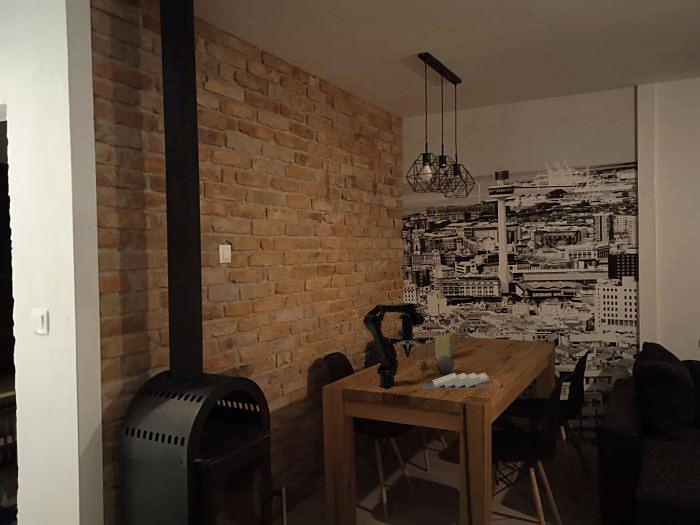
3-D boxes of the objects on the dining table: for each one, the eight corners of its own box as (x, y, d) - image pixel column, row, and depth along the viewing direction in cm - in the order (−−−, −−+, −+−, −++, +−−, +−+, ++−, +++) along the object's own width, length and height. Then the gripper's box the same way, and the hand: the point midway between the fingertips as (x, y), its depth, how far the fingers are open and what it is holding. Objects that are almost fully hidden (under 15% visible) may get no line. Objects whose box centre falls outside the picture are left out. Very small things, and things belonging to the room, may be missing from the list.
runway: (422, 389, 279) (422, 388, 279) (419, 383, 292) (419, 382, 292) (488, 389, 279) (488, 388, 279) (482, 383, 292) (482, 382, 292)
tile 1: (434, 384, 281) (457, 376, 281) (432, 380, 290) (454, 372, 290) (435, 387, 281) (458, 379, 281) (433, 383, 290) (455, 375, 290)
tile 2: (444, 384, 281) (467, 376, 280) (441, 380, 290) (464, 372, 290) (445, 387, 281) (468, 379, 280) (443, 383, 290) (465, 375, 290)
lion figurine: (419, 377, 307) (419, 360, 307) (414, 375, 312) (414, 359, 312) (443, 375, 313) (442, 358, 312) (438, 373, 317) (437, 357, 317)
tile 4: (465, 384, 281) (488, 376, 280) (461, 380, 290) (484, 372, 290) (466, 387, 281) (489, 379, 280) (462, 383, 290) (485, 375, 290)
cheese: (446, 353, 378) (446, 330, 378) (461, 354, 373) (460, 331, 373) (434, 359, 359) (434, 335, 358) (449, 360, 354) (449, 336, 354)
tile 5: (475, 384, 280) (500, 384, 280) (472, 379, 290) (495, 379, 290) (475, 387, 280) (500, 387, 280) (472, 383, 290) (495, 382, 290)
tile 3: (454, 384, 281) (478, 376, 280) (451, 380, 290) (474, 372, 290) (456, 387, 281) (479, 379, 280) (453, 383, 290) (475, 375, 290)
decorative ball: (454, 375, 311) (454, 357, 310) (436, 375, 312) (435, 357, 312) (454, 371, 320) (454, 354, 320) (436, 371, 322) (436, 353, 322)
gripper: (423, 324, 303) (424, 354, 304) (388, 325, 304) (388, 354, 304) (425, 327, 292) (426, 358, 293) (389, 328, 293) (389, 358, 293)
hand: (407, 357), depth 296 cm, fingers closed
